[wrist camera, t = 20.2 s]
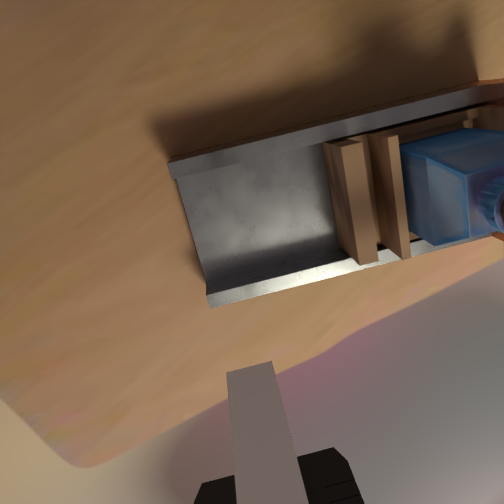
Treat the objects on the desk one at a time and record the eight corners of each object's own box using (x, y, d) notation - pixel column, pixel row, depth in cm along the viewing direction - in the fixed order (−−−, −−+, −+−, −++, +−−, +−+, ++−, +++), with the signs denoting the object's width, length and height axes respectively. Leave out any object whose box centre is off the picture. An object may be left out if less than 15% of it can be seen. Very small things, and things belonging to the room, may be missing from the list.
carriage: (321, 141, 35) (344, 148, 29) (465, 105, 35) (516, 105, 29) (339, 244, 38) (363, 269, 32) (472, 211, 38) (518, 229, 32)
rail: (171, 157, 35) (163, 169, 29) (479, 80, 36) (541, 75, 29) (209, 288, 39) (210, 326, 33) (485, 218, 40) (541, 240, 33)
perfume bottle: (469, 203, 36) (592, 250, 24) (396, 223, 35) (486, 278, 24) (464, 127, 33) (596, 139, 22) (386, 147, 33) (480, 169, 22)
